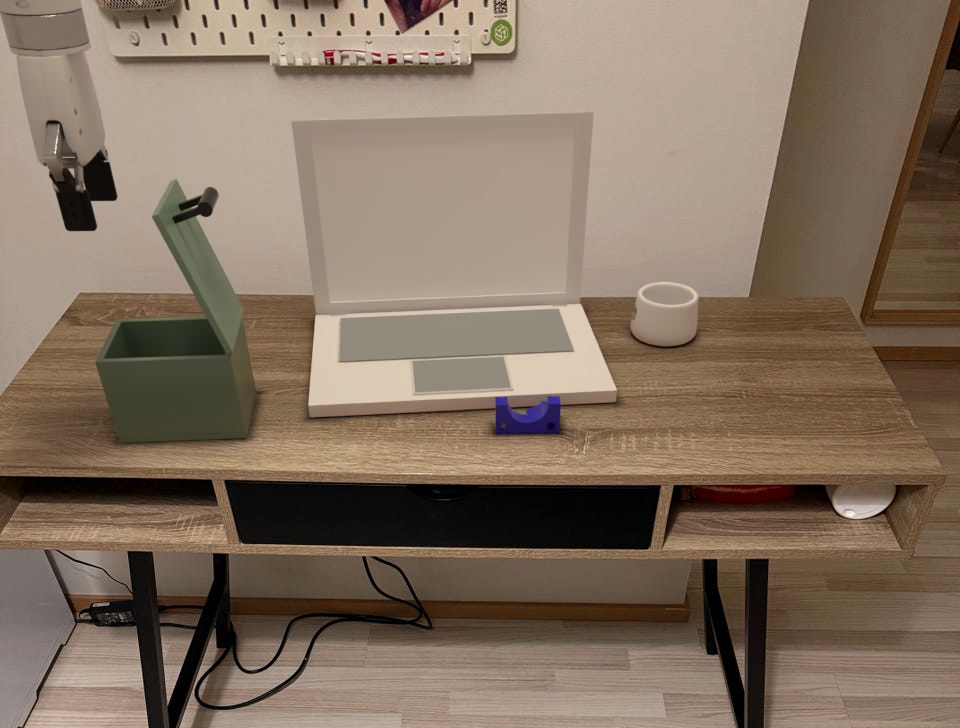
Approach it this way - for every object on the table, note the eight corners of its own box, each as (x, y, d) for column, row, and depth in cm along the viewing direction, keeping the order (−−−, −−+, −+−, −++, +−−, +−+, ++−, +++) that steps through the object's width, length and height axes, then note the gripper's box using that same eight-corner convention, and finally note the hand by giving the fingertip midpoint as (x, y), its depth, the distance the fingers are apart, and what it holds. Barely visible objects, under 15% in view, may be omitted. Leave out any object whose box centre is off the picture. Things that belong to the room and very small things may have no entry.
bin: (119, 443, 116) (94, 361, 108) (138, 397, 124) (116, 318, 117) (246, 438, 116) (230, 357, 109) (256, 392, 125) (242, 314, 118)
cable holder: (556, 418, 120) (558, 390, 117) (559, 432, 117) (560, 404, 114) (494, 419, 120) (494, 391, 117) (495, 433, 117) (495, 405, 114)
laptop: (310, 418, 120) (277, 191, 101) (317, 321, 141) (291, 118, 122) (615, 402, 123) (639, 178, 104) (578, 309, 144) (592, 109, 125)
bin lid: (151, 216, 98) (197, 199, 97) (170, 180, 106) (213, 164, 106) (226, 354, 109) (268, 340, 108) (238, 312, 117) (277, 298, 116)
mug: (697, 350, 134) (704, 309, 130) (629, 346, 134) (634, 306, 130) (692, 314, 142) (699, 275, 138) (629, 311, 143) (633, 272, 139)
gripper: (32, 15, 97) (78, 190, 109) (-22, 49, 85) (35, 243, 96) (106, 16, 98) (143, 189, 109) (62, 50, 85) (110, 242, 96)
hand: (93, 214), depth 103 cm, fingers open, 9 cm apart
